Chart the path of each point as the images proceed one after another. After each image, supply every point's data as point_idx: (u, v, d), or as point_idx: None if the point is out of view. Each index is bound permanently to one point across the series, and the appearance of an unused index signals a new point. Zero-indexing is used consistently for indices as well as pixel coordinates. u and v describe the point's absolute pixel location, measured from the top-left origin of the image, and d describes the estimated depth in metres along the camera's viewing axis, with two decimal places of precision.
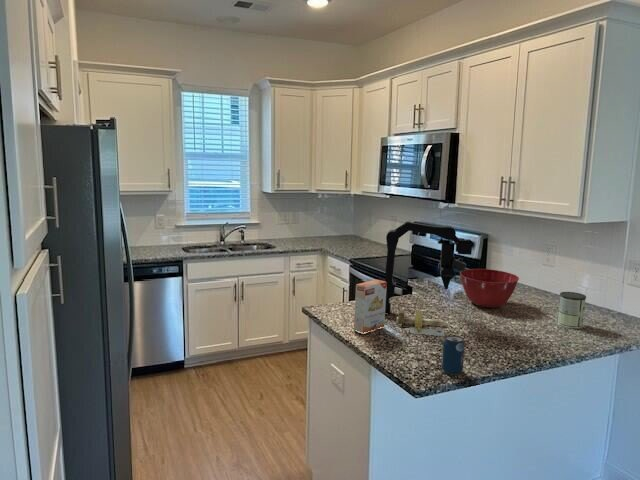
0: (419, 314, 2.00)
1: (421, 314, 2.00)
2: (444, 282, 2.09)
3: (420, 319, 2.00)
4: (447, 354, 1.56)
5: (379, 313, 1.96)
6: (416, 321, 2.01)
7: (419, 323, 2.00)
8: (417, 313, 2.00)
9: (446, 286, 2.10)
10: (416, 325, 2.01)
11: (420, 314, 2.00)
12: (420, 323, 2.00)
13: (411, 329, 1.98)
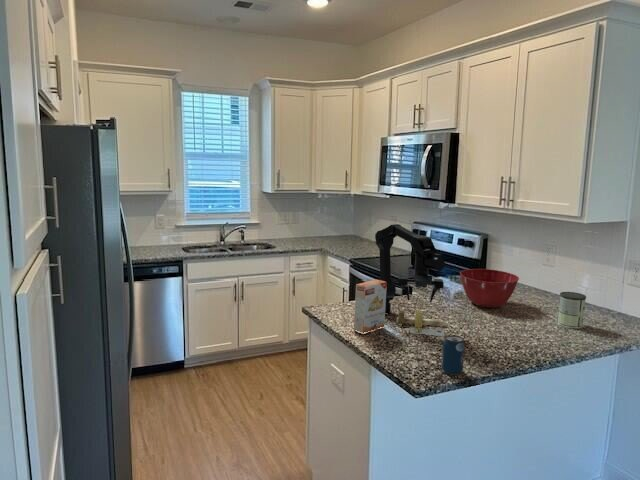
0: (419, 314, 2.00)
1: (421, 314, 2.00)
2: None
3: (420, 319, 2.00)
4: (447, 354, 1.56)
5: (379, 313, 1.96)
6: (416, 321, 2.01)
7: (419, 323, 2.00)
8: (417, 313, 2.00)
9: (407, 297, 2.01)
10: (416, 325, 2.01)
11: (420, 314, 2.00)
12: (420, 323, 2.00)
13: (411, 329, 1.98)
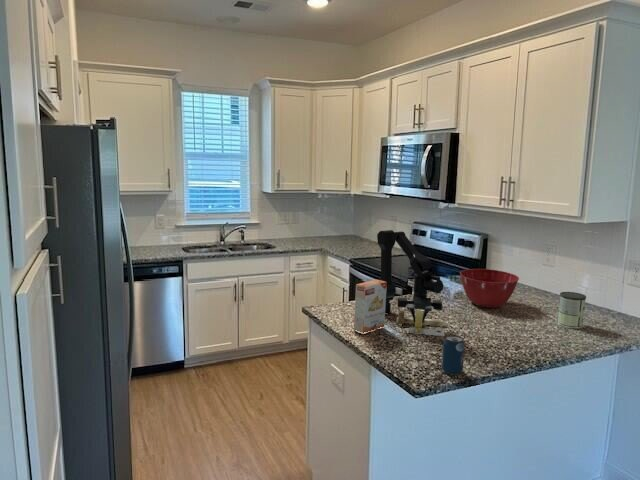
0: (419, 314, 2.00)
1: (421, 314, 2.00)
2: None
3: (420, 319, 2.00)
4: (447, 354, 1.56)
5: (379, 313, 1.96)
6: (416, 321, 2.01)
7: (419, 323, 2.00)
8: (417, 313, 2.00)
9: (413, 319, 2.02)
10: (416, 325, 2.01)
11: (420, 314, 2.00)
12: (420, 323, 2.00)
13: (411, 329, 1.98)
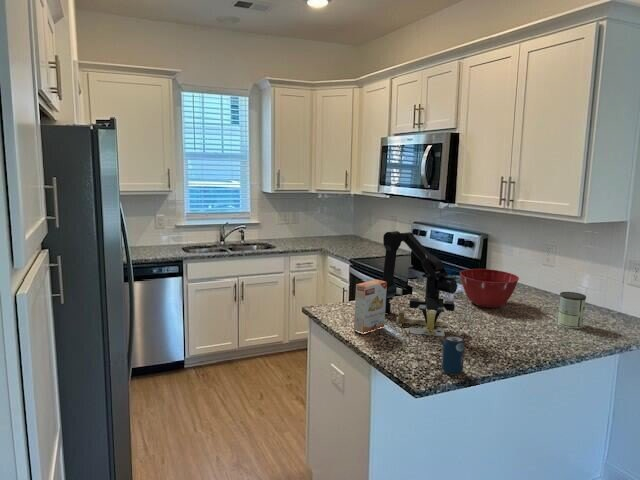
0: (431, 315, 1.99)
1: (433, 315, 1.99)
2: None
3: (432, 320, 1.99)
4: (447, 354, 1.56)
5: (379, 313, 1.96)
6: (428, 322, 2.00)
7: (431, 324, 2.00)
8: (429, 314, 1.99)
9: (425, 320, 2.01)
10: (428, 326, 2.00)
11: (432, 315, 1.99)
12: (432, 324, 1.99)
13: (411, 329, 1.98)
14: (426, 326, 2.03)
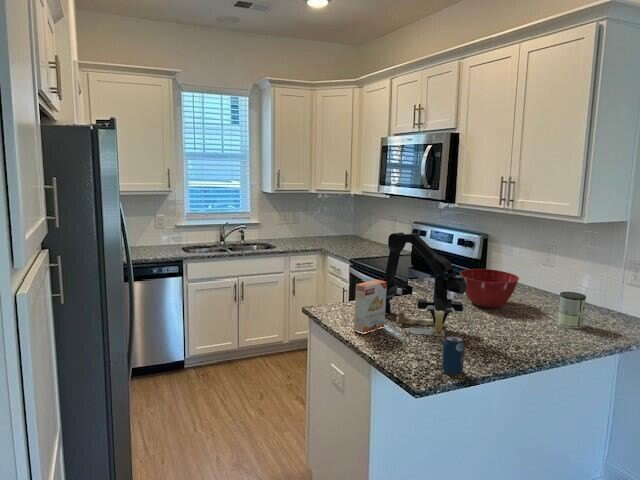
0: (439, 316, 1.98)
1: (441, 316, 1.98)
2: None
3: (440, 321, 1.99)
4: (447, 354, 1.56)
5: (379, 313, 1.96)
6: (436, 323, 1.99)
7: (439, 325, 1.99)
8: (437, 315, 1.98)
9: (433, 320, 2.01)
10: (436, 327, 1.99)
11: (440, 316, 1.98)
12: (440, 325, 1.99)
13: (411, 329, 1.98)
14: None
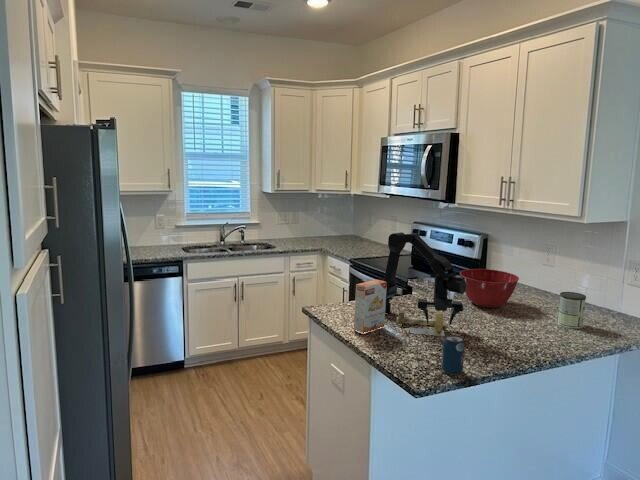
0: (439, 316, 1.98)
1: (441, 316, 1.98)
2: None
3: (440, 321, 1.99)
4: (447, 354, 1.56)
5: (379, 313, 1.96)
6: (436, 323, 1.99)
7: (439, 325, 1.99)
8: (437, 315, 1.98)
9: None
10: (436, 327, 1.99)
11: (440, 316, 1.98)
12: (440, 325, 1.99)
13: (411, 329, 1.98)
14: None
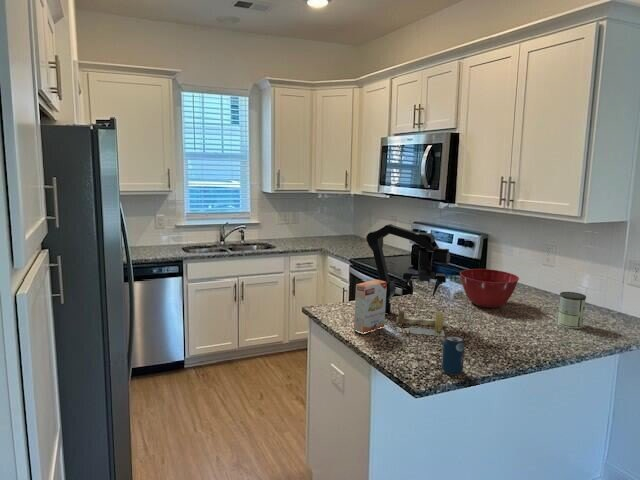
0: (439, 316, 1.98)
1: (441, 316, 1.98)
2: None
3: (440, 321, 1.99)
4: (447, 354, 1.56)
5: (379, 313, 1.96)
6: (436, 323, 1.99)
7: (439, 325, 1.99)
8: (437, 315, 1.98)
9: (411, 291, 2.12)
10: (436, 327, 1.99)
11: (440, 316, 1.98)
12: (440, 325, 1.99)
13: (411, 329, 1.98)
14: None
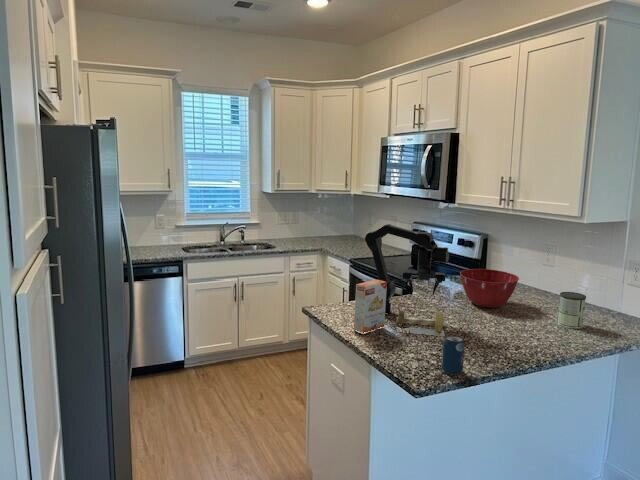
0: (439, 316, 1.98)
1: (441, 316, 1.98)
2: None
3: (440, 321, 1.99)
4: (447, 354, 1.56)
5: (379, 313, 1.96)
6: (436, 323, 1.99)
7: (439, 325, 1.99)
8: (437, 315, 1.98)
9: (411, 290, 2.12)
10: (436, 327, 1.99)
11: (440, 316, 1.98)
12: (440, 325, 1.99)
13: (411, 329, 1.98)
14: None
